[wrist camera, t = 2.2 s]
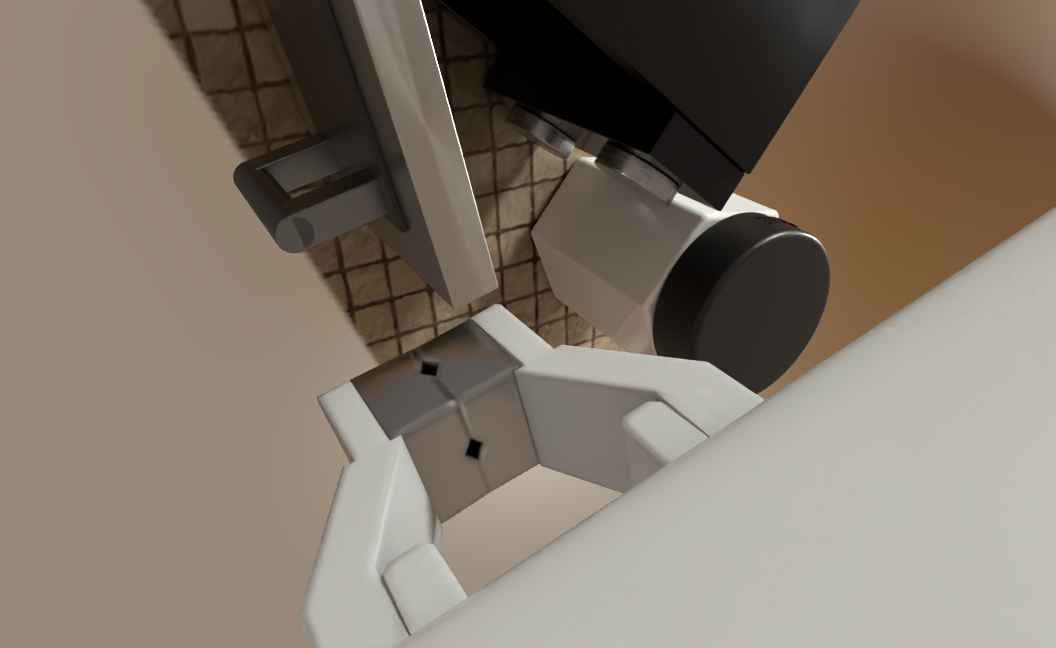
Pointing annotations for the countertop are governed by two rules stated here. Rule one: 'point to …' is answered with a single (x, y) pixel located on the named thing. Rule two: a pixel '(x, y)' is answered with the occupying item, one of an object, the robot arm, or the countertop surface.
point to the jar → (684, 275)
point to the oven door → (370, 143)
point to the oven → (654, 81)
